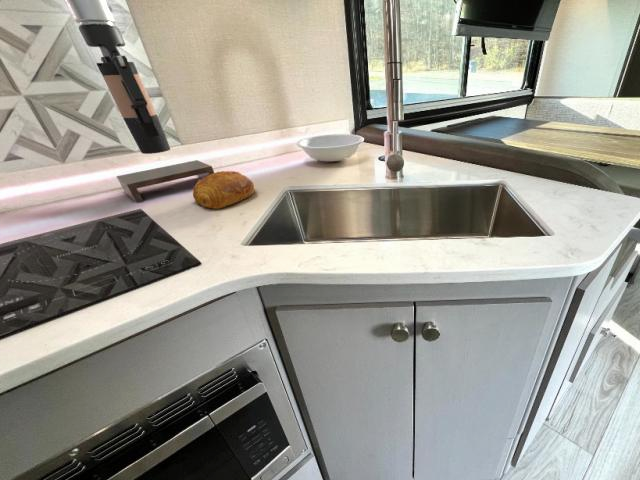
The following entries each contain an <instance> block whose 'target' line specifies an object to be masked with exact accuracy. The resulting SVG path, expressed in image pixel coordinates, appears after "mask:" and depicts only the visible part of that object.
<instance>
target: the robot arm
mask: <svg viewBox="0 0 640 480" xmlns="http://www.w3.org/2000/svg"><path fill="white" fill-rule="evenodd" d="M63 1H64V3H65V4H66V6H67V9H68V11H69V13H70V14H71V16H72V18H73V21H74V22H75V23H78V24H79V26H78V30H79V33H80V35H81V37H82V38H83V40H84V42H85V44H86V45H87V46H88V47H90V48H99V49H100V52H101V54H102V56H100V61H101V63H107V62H114V64H115V65H116V67H117V69H118V71H119V73H120V76H121V78H122V80H123V81H122V80H121V82H122V84H123V86H124V88H125V90H126V92H127V94H128V96H129V98H130V100H131V102H132V104H133V105H131V108H132V109H134V110H135V113H136V115H137V117H138V119H139V121H140V123H141V125H142V127H143V129H144V132H145V134H146V136H147V137H154V136H159V134H158V132H157V130H156V127H155V125H154V123H153V121H152V118H151V116H150V114H149V112H148V110H147V108H146V107H147V106H146V105H147V101H146V100H145V98H144V96H143V94H142V91H141V89H140V87H139V85H138V83H137V81H136V79H135V77H134V75H133V73H132V71H131V69H130V66H129V64H128V62H129V61H128V58H127V56H126V55H121V53H120V50H119V49H118V48H122V47H125V46H126V42H125V39H124V37H123V35H122V33H121V31H120V29H119V27H118V26H116V25H115V24H116V20H115V18H114V15H113V13H114V9H113V7H112V6H110V5H108V2H107V0H63ZM121 67H124V68H121Z"/></svg>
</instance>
